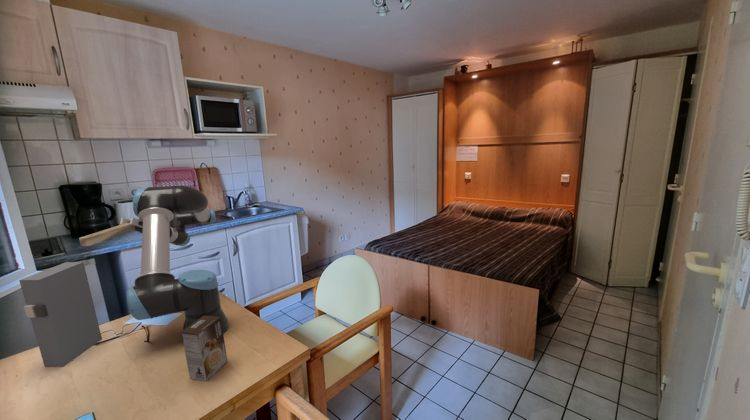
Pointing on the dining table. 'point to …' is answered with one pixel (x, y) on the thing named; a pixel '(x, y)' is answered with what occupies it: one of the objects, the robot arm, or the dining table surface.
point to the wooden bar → (107, 234)
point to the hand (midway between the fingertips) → (126, 220)
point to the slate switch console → (61, 312)
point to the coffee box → (204, 347)
